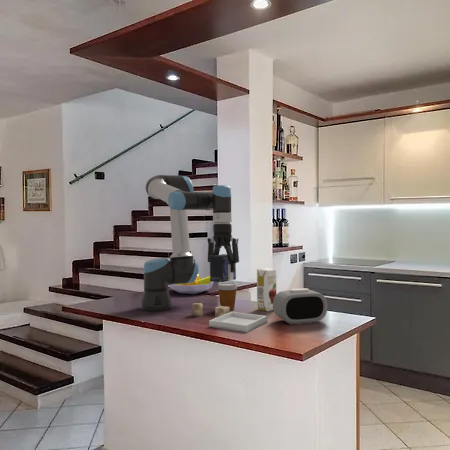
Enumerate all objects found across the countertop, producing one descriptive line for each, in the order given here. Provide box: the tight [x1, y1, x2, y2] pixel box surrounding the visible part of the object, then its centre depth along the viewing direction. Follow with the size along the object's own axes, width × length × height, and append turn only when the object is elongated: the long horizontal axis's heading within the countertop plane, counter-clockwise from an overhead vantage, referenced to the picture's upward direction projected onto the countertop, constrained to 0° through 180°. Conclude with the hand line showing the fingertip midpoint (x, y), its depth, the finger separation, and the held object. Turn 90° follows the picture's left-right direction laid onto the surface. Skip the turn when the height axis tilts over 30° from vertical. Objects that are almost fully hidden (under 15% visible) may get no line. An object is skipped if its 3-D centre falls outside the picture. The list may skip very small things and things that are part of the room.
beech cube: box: [214, 305, 231, 318], centre depth 191 cm, size 4×4×4 cm
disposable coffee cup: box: [217, 282, 238, 312], centre depth 206 cm, size 10×10×12 cm
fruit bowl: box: [168, 274, 214, 295], centre depth 254 cm, size 28×27×11 cm
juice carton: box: [256, 267, 277, 312], centre depth 206 cm, size 8×9×19 cm
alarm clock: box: [272, 287, 328, 326], centre depth 182 cm, size 21×10×13 cm, turn 106°
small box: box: [209, 253, 237, 283], centre depth 180 cm, size 11×6×10 cm, turn 147°
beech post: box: [192, 302, 204, 317], centre depth 196 cm, size 4×4×5 cm
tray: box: [208, 311, 268, 333], centre depth 179 cm, size 17×18×2 cm
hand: (223, 279), depth 180 cm, fingers closed on small box, 6 cm apart
